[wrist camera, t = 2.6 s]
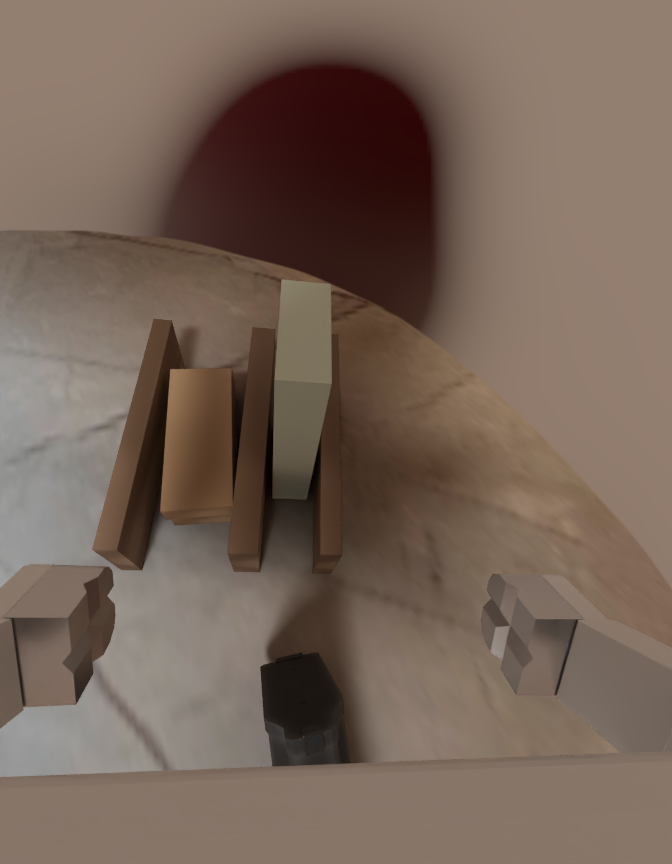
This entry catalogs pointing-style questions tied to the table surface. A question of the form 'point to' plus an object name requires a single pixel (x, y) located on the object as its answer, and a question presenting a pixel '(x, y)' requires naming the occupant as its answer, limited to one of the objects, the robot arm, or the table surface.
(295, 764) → the magazine
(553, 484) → the table surface
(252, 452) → the walnut rack
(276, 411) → the tall panel
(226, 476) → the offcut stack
